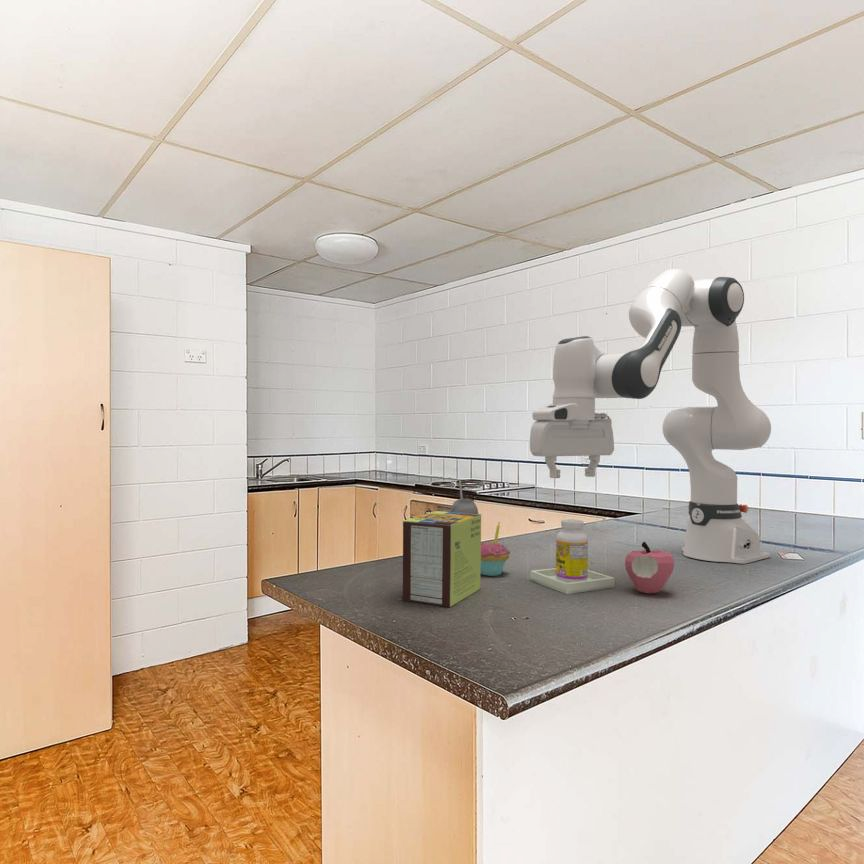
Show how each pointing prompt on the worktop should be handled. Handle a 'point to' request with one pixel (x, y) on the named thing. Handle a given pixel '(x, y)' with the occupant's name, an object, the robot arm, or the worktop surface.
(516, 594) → the worktop surface
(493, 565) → the cupcake
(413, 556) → the protein box
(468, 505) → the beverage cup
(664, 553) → the apple
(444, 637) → the worktop surface
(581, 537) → the supplement bottle
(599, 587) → the tray
